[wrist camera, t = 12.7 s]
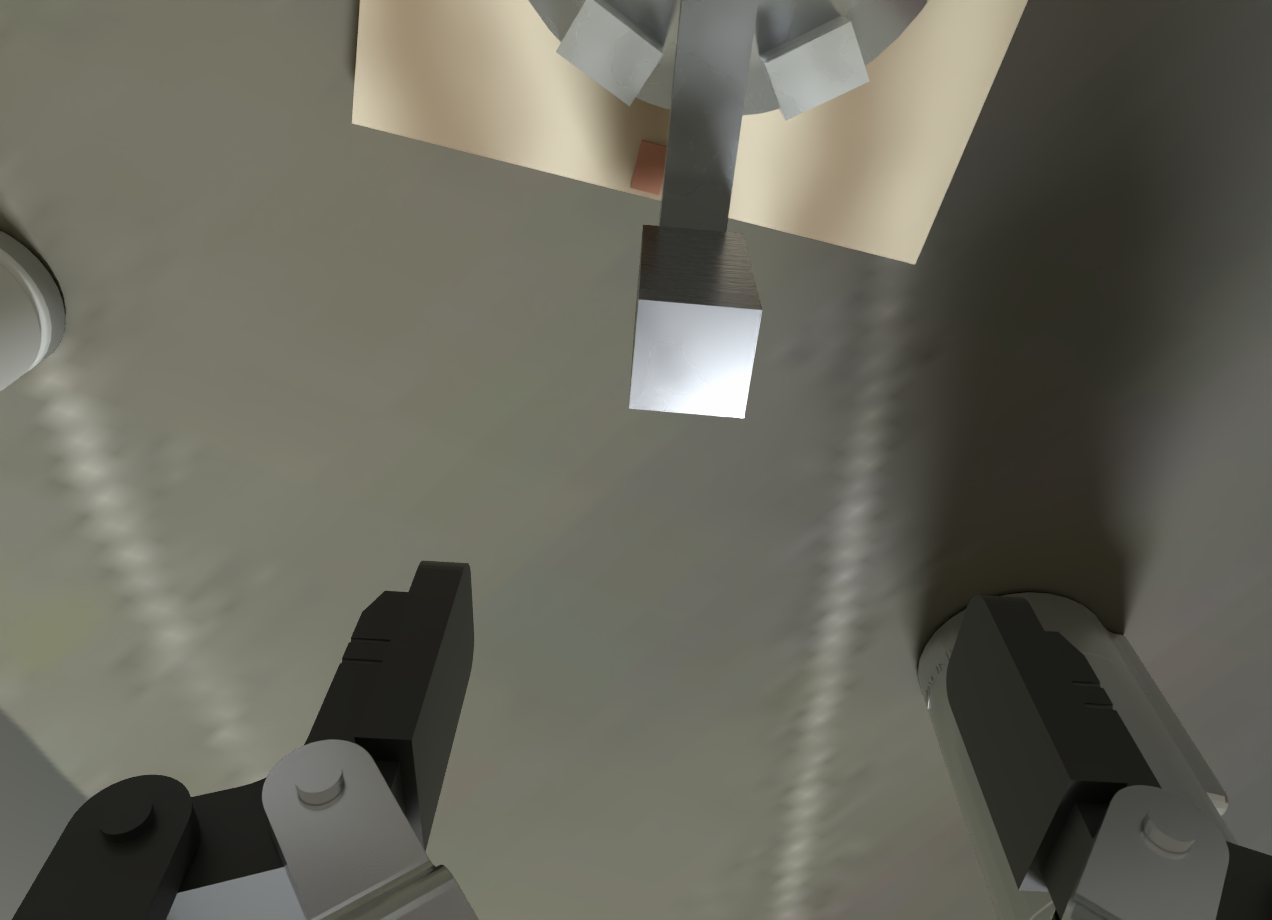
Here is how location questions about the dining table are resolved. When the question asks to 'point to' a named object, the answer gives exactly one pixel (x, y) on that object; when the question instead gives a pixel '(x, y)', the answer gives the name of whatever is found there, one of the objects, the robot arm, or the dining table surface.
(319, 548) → the dining table surface
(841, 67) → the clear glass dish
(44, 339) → the travel mug
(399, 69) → the base plate
